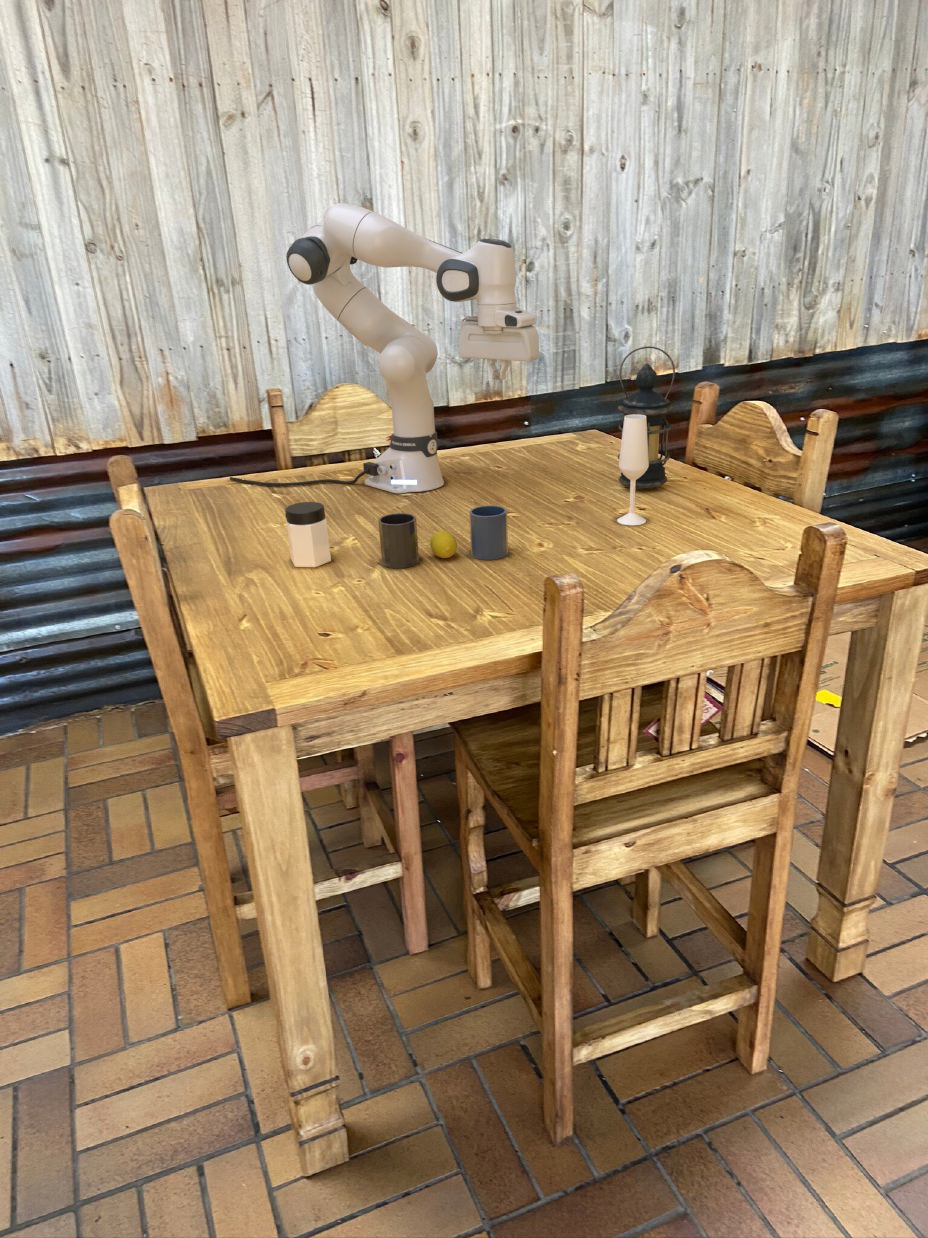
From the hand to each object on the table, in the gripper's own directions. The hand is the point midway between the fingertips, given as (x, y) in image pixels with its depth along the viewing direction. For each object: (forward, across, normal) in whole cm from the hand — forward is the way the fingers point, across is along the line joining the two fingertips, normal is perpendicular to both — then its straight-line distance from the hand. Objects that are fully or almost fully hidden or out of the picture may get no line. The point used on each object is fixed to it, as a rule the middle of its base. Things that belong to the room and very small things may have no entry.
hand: (499, 379), depth 205 cm
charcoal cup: (+31, +2, -42) cm, 52 cm away
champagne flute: (+31, +32, +6) cm, 45 cm away
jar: (+31, -15, -51) cm, 62 cm away
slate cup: (+31, +16, -28) cm, 45 cm away
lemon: (+28, +5, -32) cm, 43 cm away
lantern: (+31, +22, +32) cm, 50 cm away
